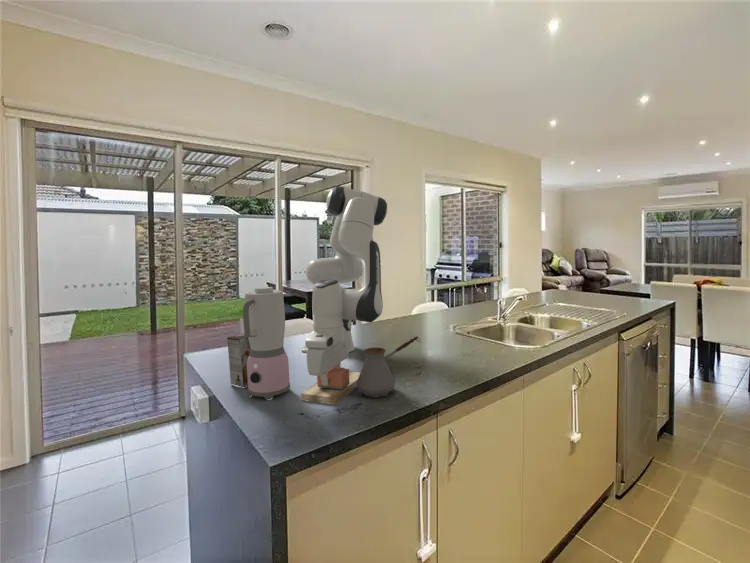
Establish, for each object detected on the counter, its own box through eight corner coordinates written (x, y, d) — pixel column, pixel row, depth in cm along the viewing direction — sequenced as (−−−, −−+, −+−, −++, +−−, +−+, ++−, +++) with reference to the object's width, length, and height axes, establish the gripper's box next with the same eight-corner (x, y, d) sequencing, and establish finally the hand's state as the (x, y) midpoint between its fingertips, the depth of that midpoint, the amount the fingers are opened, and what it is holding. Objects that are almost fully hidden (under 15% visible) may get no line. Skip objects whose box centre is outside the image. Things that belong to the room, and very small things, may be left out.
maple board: (301, 400, 113) (300, 393, 113) (334, 375, 134) (334, 370, 134) (336, 404, 109) (335, 397, 109) (365, 378, 130) (365, 372, 130)
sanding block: (317, 387, 117) (316, 372, 116) (325, 381, 121) (324, 367, 121) (342, 389, 114) (341, 374, 114) (349, 383, 119) (348, 368, 118)
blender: (265, 383, 128) (260, 285, 125) (298, 387, 124) (293, 285, 121) (231, 402, 113) (224, 291, 110) (267, 407, 109) (261, 291, 106)
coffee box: (252, 377, 135) (249, 331, 133) (265, 380, 131) (263, 332, 130) (229, 386, 127) (226, 336, 125) (243, 389, 124) (240, 338, 122)
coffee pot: (367, 403, 110) (365, 350, 109) (350, 390, 120) (348, 341, 119) (430, 388, 120) (429, 339, 118) (410, 377, 130) (409, 332, 129)
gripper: (334, 327, 127) (336, 369, 129) (301, 342, 108) (304, 392, 109) (352, 328, 125) (354, 371, 126) (322, 344, 106) (324, 394, 107)
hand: (330, 381), depth 118 cm, fingers closed on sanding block, 5 cm apart
